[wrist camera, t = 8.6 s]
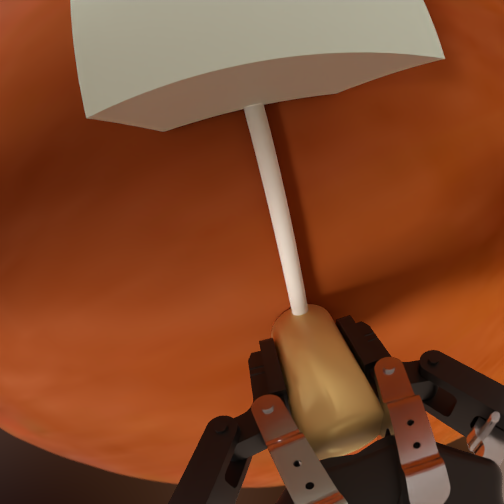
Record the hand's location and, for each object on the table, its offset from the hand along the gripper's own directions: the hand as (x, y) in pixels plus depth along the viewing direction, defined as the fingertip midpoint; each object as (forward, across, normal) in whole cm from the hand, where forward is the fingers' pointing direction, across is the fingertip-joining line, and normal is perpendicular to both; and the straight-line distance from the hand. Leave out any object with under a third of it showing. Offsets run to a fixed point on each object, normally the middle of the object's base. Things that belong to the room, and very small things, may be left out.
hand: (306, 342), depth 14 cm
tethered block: (+1, 0, -9) cm, 9 cm away
